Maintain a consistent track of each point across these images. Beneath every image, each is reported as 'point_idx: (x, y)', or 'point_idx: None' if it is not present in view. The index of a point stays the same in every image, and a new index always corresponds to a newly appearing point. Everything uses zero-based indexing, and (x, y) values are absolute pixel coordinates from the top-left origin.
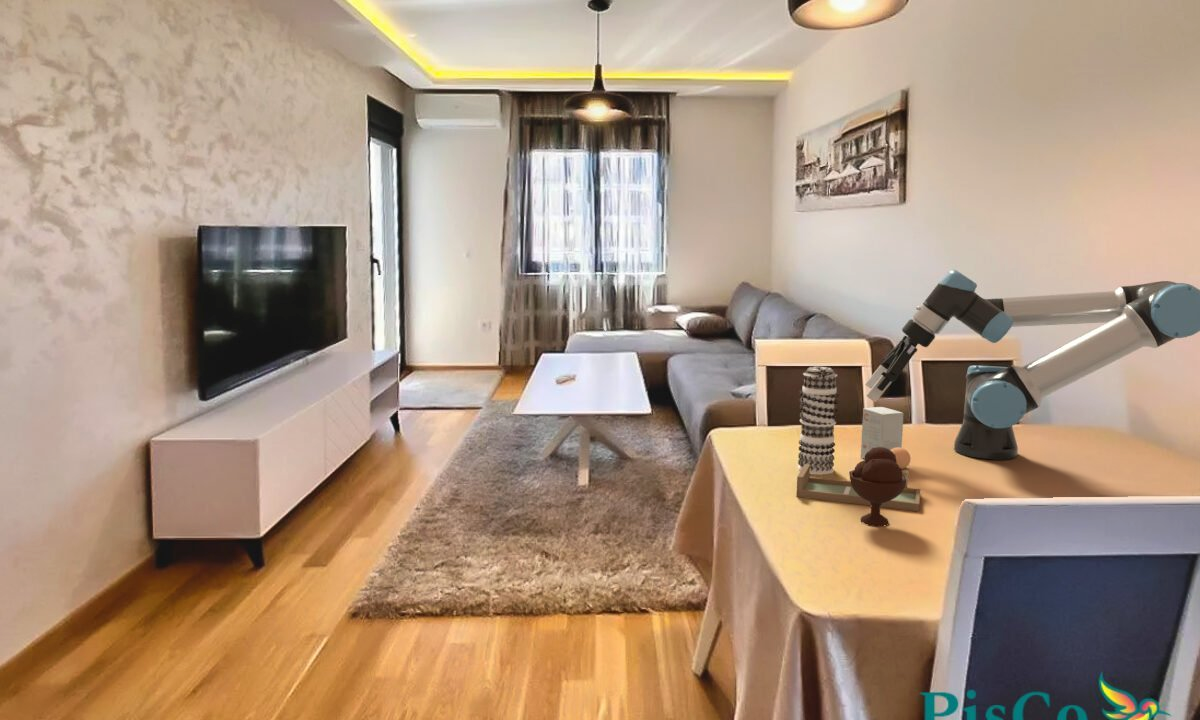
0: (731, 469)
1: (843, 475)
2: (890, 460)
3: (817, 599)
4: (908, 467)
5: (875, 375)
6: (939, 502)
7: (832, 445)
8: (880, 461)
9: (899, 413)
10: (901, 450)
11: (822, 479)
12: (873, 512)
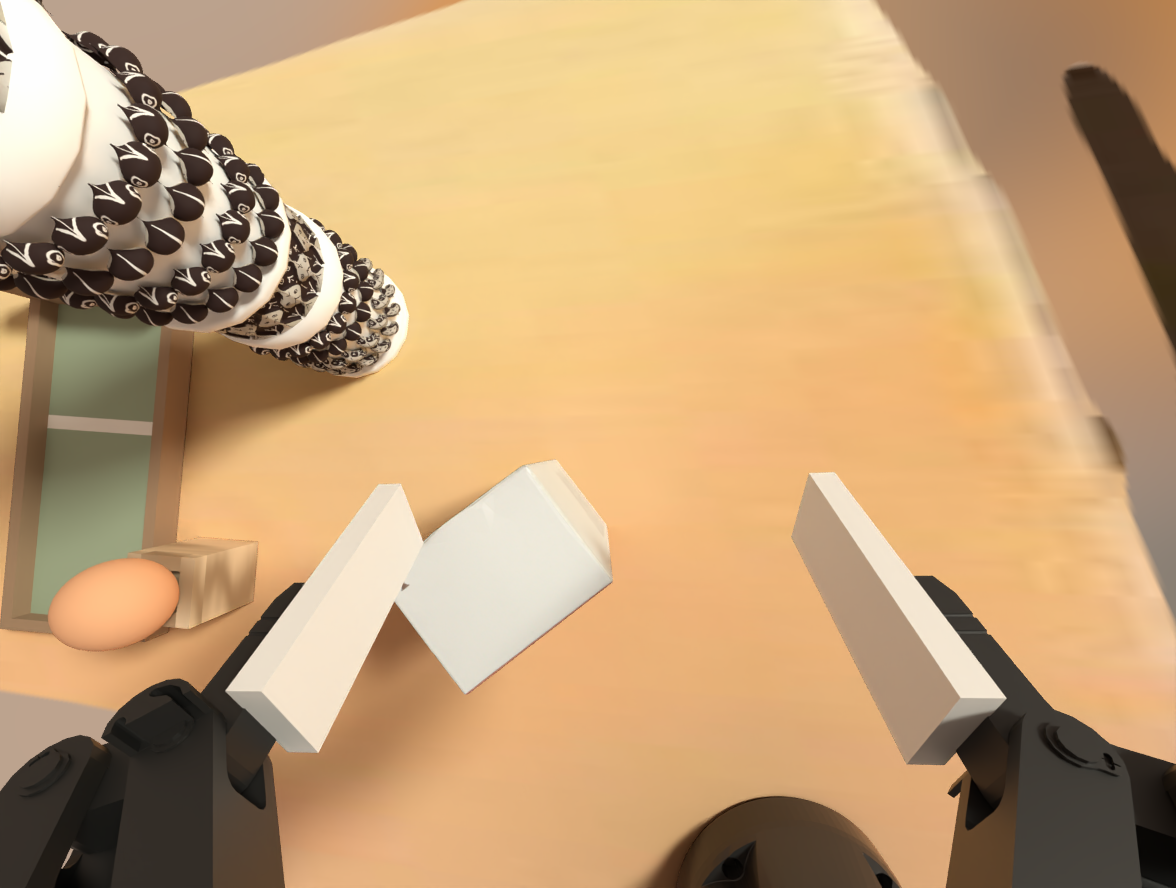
0: (272, 68)
1: (316, 410)
2: None
3: None
4: (172, 626)
5: (861, 581)
6: (129, 682)
7: (252, 349)
8: None
9: (446, 670)
10: (49, 626)
11: (160, 348)
12: None
